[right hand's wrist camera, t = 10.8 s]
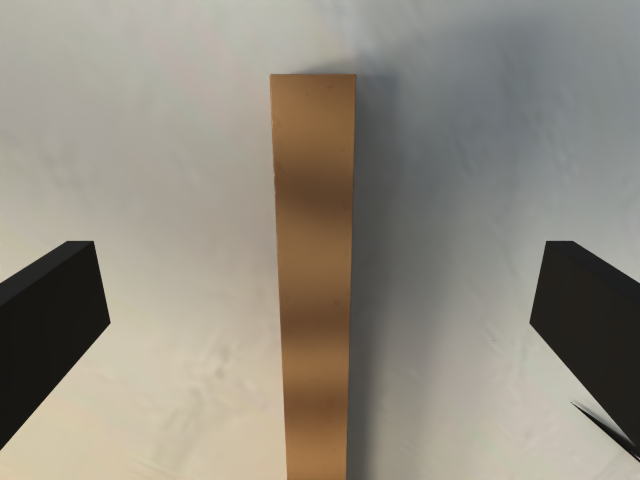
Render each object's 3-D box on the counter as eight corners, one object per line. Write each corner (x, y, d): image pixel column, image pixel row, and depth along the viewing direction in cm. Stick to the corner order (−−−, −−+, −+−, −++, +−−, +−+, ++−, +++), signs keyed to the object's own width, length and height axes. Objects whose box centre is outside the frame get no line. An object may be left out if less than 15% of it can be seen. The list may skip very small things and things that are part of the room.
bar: (282, 76, 30) (269, 74, 22) (347, 75, 30) (356, 73, 22) (300, 620, 52) (297, 711, 45) (337, 620, 52) (340, 711, 45)
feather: (488, 331, 38) (503, 334, 37) (678, 477, 44) (700, 486, 42) (480, 347, 38) (494, 351, 36) (672, 492, 43) (694, 502, 41)
